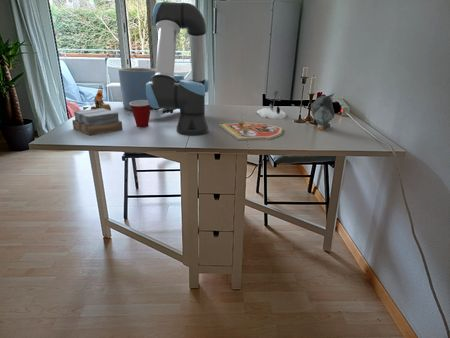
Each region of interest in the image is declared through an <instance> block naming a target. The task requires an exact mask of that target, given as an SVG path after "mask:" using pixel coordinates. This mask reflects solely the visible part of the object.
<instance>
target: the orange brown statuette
mask: <svg viewBox="0 0 450 338" xmlns="http://www.w3.org/2000/svg"><path fill="white" fill-rule="evenodd" d="M103 92H104V90H103V89H98V90H97V92H96V94H95V96H94V106H91V107H90V110H92V109H100V108H104V109H107V110H110V111H112V109H111V105H110V104H109V103H105V102H104V99H103V98H104V95H103Z"/></svg>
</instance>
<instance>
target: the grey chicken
mask: <svg viewBox="0 0 450 338" xmlns="http://www.w3.org/2000/svg"><path fill="white" fill-rule="evenodd" d="M334 95H335V93H332V94H329V95H320V96H318V97H317V98H316V99H315V100H314V101H313V102H311V104H310V110H311V114H312V119H314V121H315V122H316V123H314V125H315V126H317V129H316V130H318V131H324V129H327V128H329V127H330V125H331V123H329V122H330V121H332V120H333V119H334V118H335V109H334V105H333V101H332V99H331V98H332V97H333V96H334Z"/></svg>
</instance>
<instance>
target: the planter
mask: <svg viewBox="0 0 450 338" xmlns="http://www.w3.org/2000/svg"><path fill="white" fill-rule="evenodd" d="M155 69H156V68H145V67H122V68H121V67H120V68H118V69H117V70H118V77H119V85H120V92H121V98H122V99H121V101H122V105H123V107H124V108H126V109H127V110H128V111H129V110H132V108H131V106H130V104H129V103H130V102H132V101H137V100H147V95H146V84H147V82H151V77H152V76H153V75H155ZM151 110H154V109H150V111H151Z"/></svg>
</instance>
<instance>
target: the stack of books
mask: <svg viewBox="0 0 450 338" xmlns="http://www.w3.org/2000/svg"><path fill="white" fill-rule="evenodd" d="M73 114H74V119H72V120H71V121H72V127H73V130H76V131H78V132H80V133H82V134H85V135H88V136H89V137H90V136H94V135H100V134H101V135H102V134H107V133H112V132H116V131H117V132H118V131H121V130H122V131H123V130H124V129H123V121H122V120H119V112H116V111H113V110H111V111H110V110H107V109H104V108H100V109H92V110H91V109H84V110H78V111H74V112H73Z"/></svg>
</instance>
